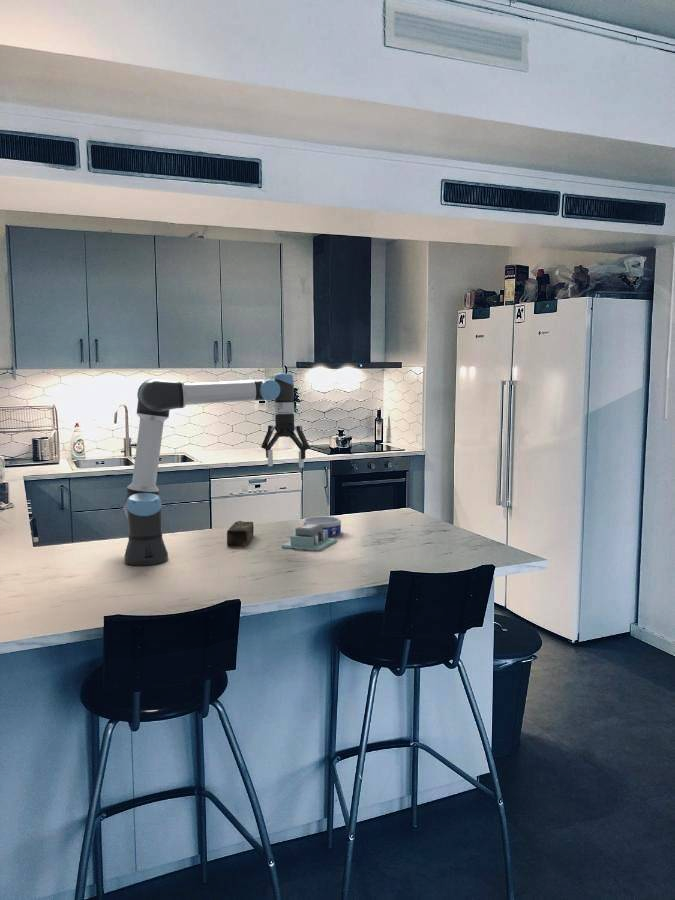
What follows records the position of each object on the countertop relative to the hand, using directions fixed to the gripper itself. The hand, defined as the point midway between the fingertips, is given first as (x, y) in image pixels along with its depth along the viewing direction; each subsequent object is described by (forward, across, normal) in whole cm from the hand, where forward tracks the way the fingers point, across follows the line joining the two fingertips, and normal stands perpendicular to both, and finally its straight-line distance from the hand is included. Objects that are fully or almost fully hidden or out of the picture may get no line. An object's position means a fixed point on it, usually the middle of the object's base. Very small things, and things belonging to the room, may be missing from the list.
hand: (285, 466), depth 287 cm
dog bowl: (+29, +10, +12) cm, 33 cm away
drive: (+28, +13, -7) cm, 31 cm away
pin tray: (+29, +13, -7) cm, 32 cm away
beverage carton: (+29, -16, -10) cm, 35 cm away
